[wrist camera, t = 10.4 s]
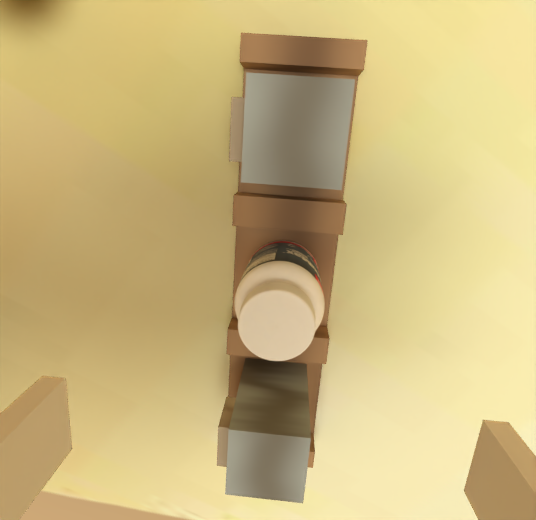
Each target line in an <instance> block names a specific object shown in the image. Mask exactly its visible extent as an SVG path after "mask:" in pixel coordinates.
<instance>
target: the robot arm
mask: <svg viewBox="0 0 536 520" xmlns="http://www.w3.org/2000/svg"><path fill="white" fill-rule="evenodd" d="M71 449H72V442H71V431H70V420H69V409H68V398H67V387H66V378H59V377H49V376H42V377H41V378H40V379H38V380H37V381H36V382H35V383H34V384H33V385H32V386H31V387H30V388H28V389H27V390H26V391H25V392H24V393H23V394H22V395H21V396H20V397H18V398H17V399H16V400H15V401H14V402H13V403H12V404H11V405H9V406H8V407H7V408H6V409H5V410H4V411H3V412H2V413H1V414H0V520H19V519H20V518H21V517H22V515H23V514H24V513H25V512H26V510H27V509H28V507H29V506H30V505H31V503H32V502H33V501H34V499H35V498H36V497H37V495H38V494H39V493H40V491H41V490H42V489H43V487H44V486H45V485H46V483H47V482H48V480H49V479H50V478H51V476H52V475H53V474H54V472H55V471H56V470H57V468H58V467H59V466H60V464H61V463H62V462H63V460H64V459H65V458H66V456H67V455H68V454H69V452H70V451H71ZM464 492H465V494H466V496H467V498H468V500H469V502H470V504H471V506H472V508H473V510H474V512H475V514H476V516H477V518H478V520H536V456H535V455H534V454H533V452H532V451H531V450H530V449H529V447H528V446H527V445H526V444H525V442H524V441H523V440H522V439H521V437H520V436H519V435H518V434H517V432H516V431H515V430H514V429H513V427H512V426H511V425H510V423H509V422H499V421H489V420H483V422H482V426H481V430H480V433H479V437H478V441H477V444H476V448H475V452H474V455H473V459H472V463H471V466H470V470H469V474H468V477H467V481H466V485H465V488H464Z"/></svg>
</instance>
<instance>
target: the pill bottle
mask: <svg viewBox="0 0 536 520" xmlns="http://www.w3.org/2000/svg"><path fill="white" fill-rule="evenodd" d="M234 304H235V312H236V316H237V319H238V331H239V335H240V338H241V340H242V342H243V343H244V345H245V346H246V347H247V348H248V349H249V350H250V351H251V352H252V353H253V354H255V355H256V356H258V357H260V358H263V359H266V360H270V361H285V360H289V359H292V358H294V357H296V356H298V355H300V354H301V353H302V352H304V351H305V350H306V349H307V348H308V346H309V345H310V344H311V342H312V340H313V338H314V334H315V331H316V330H317V328H318V327H319V325H320V323H321V321H322V318H323V315H324V309H325V301H324V294H323V289H322V284H321V279H320V273H319V268H318V265H317V263H316V260H315V259H314V257H313V255H312V254H311V253H310V252H309V251H308V250H307V249H306V248H304V247H303V246H301V245H300V244H298V243H295V242H292V241H286V240H279V241H273V242H270V243H267V244H265V245H263V246H262V247H260V248H259V249H258V250H257V251H256V252H255V253H254V254H253V256H252V257H251V259H250V260H249V263H248V265H247V267H246V269H245V271H244V274H243V276H242V278H241V280H240V283H239V285H238V287H237V290H236V295H235V302H234Z"/></svg>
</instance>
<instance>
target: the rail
mask: <svg viewBox="0 0 536 520" xmlns="http://www.w3.org/2000/svg"><path fill="white" fill-rule="evenodd" d="M366 48H367V40H352V39H336V38H319V37H302V36H285V35H269V34H252V33H241V45H240V63H241V65H242V66H243V68H244V81H243V98H241V97H232V102H231V127H230V152H229V161H234V162H240V165H239V186H238V192H237V193H236V194H235V195H234V202H233V224H232V226H237V228H236V248H235V269H234V290H233V311H232V319H231V322H230V325H229V327H228V336H227V354H229V355H230V374H229V395H228V397H226V401H225V405H224V408H223V412H222V416H221V419H220V423H219V426H218V450H217V466H224V467H227V472H226V492H225V494H227V495H236V496H244V497H253V498H262V499H271V500H280V501H288V502H297V503H303V499H304V491H305V483H306V475H307V467H311V468H313V462H314V454H315V448H314V426H315V418H316V410H317V402H318V394H319V386H320V378H321V369H322V364H326V360H327V353H328V345H329V335H328V330H327V321H328V313H329V305H330V297H331V289H332V281H333V273H334V265H335V257H336V249H337V241H338V234H340V235H343V227H344V220H345V212H346V203H345V202H344V201H343V193H344V185H345V177H346V169H347V161H348V153H349V145H350V137H351V129H352V121H353V113H354V105H355V97H356V89H357V81H358V76H359V74H360V73H361V72H362V71H363V70H364V63H365V55H366ZM279 240H286V241H292V242H295V243H298V244H300V245H301V246H303V247H304V248H306V249H307V250H308V251H309V252H310V253H311V254H312V255H313V257H314V259H315V260H316V263H317V265H318V268H319V273H320V279H321V284H322V289H323V294H324V301H325V309H324V315H323V318H322V321H321V323H320V325H319V327H318V328H317V330H316V331H315V334H314V338H313V340H312V342H311V344H310V345H309V346H308V348H307V349H306V350H305V351H304V352H302V353H301V354H300V355H298V356H296V357H294V358H292V359H289V360H285V361H270V360H266V359H263V358H260V357H258V356H256V355H255V354H253V353H252V352H251V351H250V350H249V349H248V348H247V347H246V346H245V345H244V343H243V342H242V340H241V338H240V335H239V331H238V319H237V316H236V312H235V304H234V302H235V295H236V290H237V287H238V285H239V283H240V280H241V278H242V276H243V274H244V271H245V269H246V267H247V265H248V263H249V260H250V259H251V257H252V256H253V254H254V253H255V252H256V251H257V250H258V249H259V248H260V247H262V246H263V245H265V244H267V243H270V242H273V241H279Z"/></svg>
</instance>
